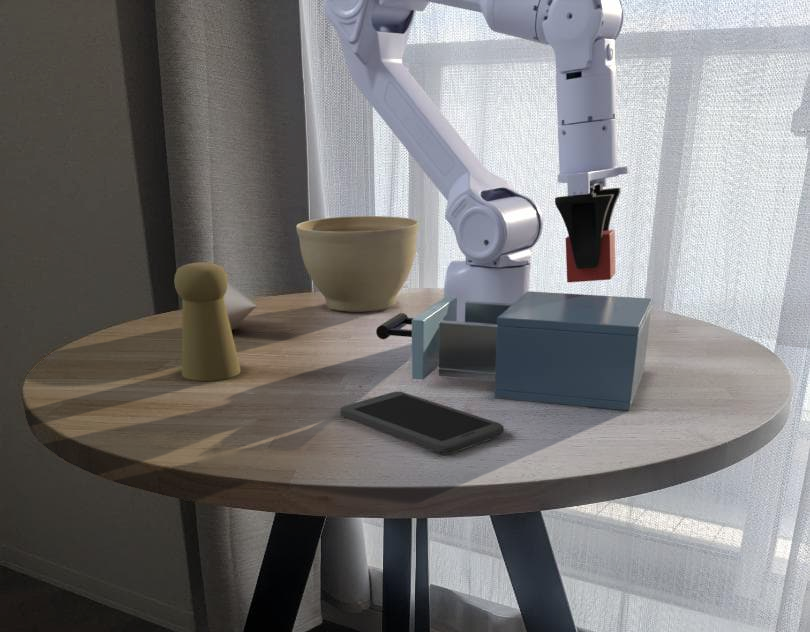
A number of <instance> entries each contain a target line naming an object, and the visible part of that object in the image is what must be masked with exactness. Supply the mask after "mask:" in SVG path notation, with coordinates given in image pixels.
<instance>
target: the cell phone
mask: <svg viewBox="0 0 810 632" xmlns="http://www.w3.org/2000/svg"><path fill="white" fill-rule="evenodd" d="M339 411H340V416H342V417H343V418H345V419H347V420H351V421H353V422H356V423H358V424H361V425H364V426H366V427H369V428H371V429H374V430H377V431H379V432H383V433H385V434H387V435H390V436H393V437H396V438H398V439H401V440H403V441H406V442H409V443H411V444H414V445H416V446H419V447H422V448H425V449H427V450H430V451H433V452H435V453H438V454H452V453H455V452H459V451H461V450H463V449H466V448H469V447H472V446H474V445H475V446H476V445H478V444H481V443H485V442H486V441H489V440H491V439H492V440H493V439H495V438H497V437H500V436H502V435H503V434H504V432H505V427H504V425H503V424H502V423H500V422H497V421H493V420H491V419H488V418H485V417H481V416H478V415H475V414H472V413H469V412H465V411H463V410H460V409H457V408H454V407H451V406H447V405H445V404H441V403H438V402H435V401H432V400H428V399H426V398H422V397H419V396H416V395H413V394H410V393H407V392H404V391H401V390H400V391H392V392H388V393H385V394H384V393H383V394H381V395H377V396H374V397H371V398H367V399H363V400H360V401H356V402H353V403H349V404H346V405H342V406H341V407H340V408H339Z"/></svg>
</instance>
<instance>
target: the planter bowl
mask: <svg viewBox="0 0 810 632" xmlns="http://www.w3.org/2000/svg"><path fill="white" fill-rule="evenodd" d="M295 226H296V227H295V228H296V233H297V236H298V241H299V248H300V249H299V250H300V254H301V257H302V260H303V264H304V266H305V269H306V271H307V274H308V275H309V277H310V279H311V281H312V282H313V284H314V285H315V287H316V288H317V289H318V291H319V293H320V294H321V295H322V296H323V297H324V300H325V305H326V307H327V308H329V309H331V310H334V311H339V312H355V313H356V312H371V311H380V310H387V309H389V308H391V307H393V306H395V305H396V303H397V297H398V293H399V292H400V291H401V290H402V288H403V287H404V285H405V284H406V281H407V279H408V278H409V275H410V273H411V270H412V268H413V265H414V261H415V257H416V251H417V244H418V243H417V242H418V231H419V226H420V225H419V221H418V220H417V219H415V218H410V217H409V218H408V217H404V216H403V217H402V216H386V215H385V216H384V215H354V216H353V215H351V216H334V217H324V218H316V219H311V220H310V219H309V220H307V221H303V222H300V223H297V224H296V225H295Z"/></svg>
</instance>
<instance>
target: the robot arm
mask: <svg viewBox="0 0 810 632" xmlns="http://www.w3.org/2000/svg"><path fill="white" fill-rule="evenodd" d="M430 3H433V4H438V5H443V6H448V7H453V8H456V9H457V8H458V9H463V10H467V11H471V12H476V13H480V14H482V16H483V18H484V20H485V22H486V24H487V26H488V28H489V29H490V30H491V31H493V32H495V33H497V34H502V35H506V36H511V37H514V38H519V39H521V40H522V39H523V40H527V41H530V42H534V43H539V44H541V45H544V46H545V45H546V46H550V47H551V48H552V50H553V52H554V57H555V59H554V61H555V89H556V90H555V91H556V111H557V112H556V113H557V139H558V140H557V141H558V144H557V145H558V169H559V170H558V171H559V173H557V183H559V184H566V185H567V187H566V188H567V195H563V196H557V197H555V198H554V204H555V207H556V209H557V211H558V212H559V214H560V216H561V218H562V221H563V223H564V225H565V228H566V232H567V234H568V236H569V239H570V243H571V248H572V253H573V257H574V261H575V264H576V267H577V269H580V268H594V267H597V266H598V262H599V257H600V251H601V242H602V233H603V231H606V230H610V224H611V221H612V216H613V212H614V209H615V206H616V204H617V201H618V200H619V197H620V194H621V187H612V188H605V187H607V185H608V183H607V179H609V178H615V177H616V178H617V177H618V176H620V175H628V174H629V173H630V166H629V165H626V166H618V164H617V162H618V160H617V158H618V157H617V104H616V103H617V95H616V94H617V91H616V90H617V87H616V85H617V84H616V82H617V81H616V49H615V48H616V45H615V43H616V40H617V39H618V37H619V36H620V33H621V31H622V28H623V24H624V7H623V3H622V1H621V0H324V5H323V7H324V8H323V15H324V17H325V19H326V20H327V21H328V22H329V23H330V25H331V26H332V27H333V28H334V30H335V32H336V34H337V37H338V40H339V43H340V46H341V51H342V53H343V55H344V58H345V62H346V65H347V69H348V71H349V75H350V77H351V80H352V81H353V83H354V85H355V86H356V87H357V89H358V90H359V91H360V93H361V94H362V95H363V96H364V98H365V99H366V100H367V101H368V102H369V104H370V105H371V106H372V107H373V109H374V110H375V111H376V113H377V114H378V115H379V116H380V118H381V119H382V120H383V122H384V123H385V124H386V125H387V126H388V128H389V129H390V131H391V132H392V133H393V134H394V135H395V136H396V138H397V139H398V140H399V142H400V143H401V144H402V146H404V148H405V149H406V151H407V152H408V153H409V154H410V156H411V157H412V158H413V160H414V161H415V162H416V163H417V164H418V166H419V167H420V168H421V170H422V171H423V172H424V173H425V175H426V176H427V177H428V178H429V180H430V181H431V182H432V183H433V185H434V186H435V187H436V188H437V190H438V191H439V193H440V194H441V195H442V196H443V197H444V199H445V200H446V202H447V203H446V208H445V212H444V218H445V220H446V221H447V223H448V224H449V225H450V226H451V228H452V230H453V232H454V236H455V239H456V244H457V246H458V248H459V250H460V251H461V253H462V254H463V256H465V259H464V260H452V261H451V262H450V263H449V264H448V266H447V268H446V273H445V276H444V283H443V284H444V285H443V299H444V298H445V297H447V296H448V297H457V321H459V322H465V302H467V301H476V302H492V303H507V304H513V303H515V302H516V301H517V300H518V299H519V298H520V297H521V296H522V295H524V294H525V293H526V292H527V291H530V282H531V268H532V267H531V266H532V263H531V262H532V248H533V247H535V246H536V244H537V243H538V242H539V240H540V239H541V236H542V234H543V229H544V218H543V215H542V211H541V209H540V207H539V206H538V204H537V203H536V201H534V200H533V199H532V198H531V197H529V196H527V195H524V194H522V193H519V192H518V191H517V190H516V189H515V188H514V187H513V186H512V185H511V184H510V182H508V180H506V179H504V178H503V177H501V176H499V175H497V174H495V173H493V172H492V171H490V170H488V169H487V168H486V167H485V166H484V164H483V163H482V162H481V160H480V159H479V158H478V157H477V155H476V154H475V153H474V151H473V150H472V149H471V148H470V146H469V145H468V144H467V143H466V142H465V140H464V139H463V138H462V137H461V135H460V134H459V133H458V131H457V130H456V129H455V128H454V126H453V125H452V123H450V122H449V120H448V118H447V117H446V116H445V115H444V114H443V112H441V110H440V109H439V107H438V106H437V105H436V104H435V102H433V100H432V98H430V96H429V95H428V94H427V92H426V91H425V90H424V89H423V87H421V85H420V84H419V82H418V81H417V80H416V78H414V77H413V75H412V73H410V71H409V70H408V69H407V67H406V66H405V65H404V64H403V56H404V54H405V50H406V49H407V44H408V40H409V37H410V34H411V30H412V27H413V23H414V21H415V17H416V14H417V12H424V11H425V10H426V8H427V7H428V5H429V4H430Z"/></svg>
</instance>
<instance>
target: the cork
mask: <svg viewBox="0 0 810 632" xmlns="http://www.w3.org/2000/svg"><path fill="white" fill-rule="evenodd" d="M173 281H174V283H173V284H174V288H175V290H176V293H177V295H178V296H179V297H180V298H181V302H182V303H181V304H182V305H181V309H182V310H181V312H182V314H181V315H182V317H181V319H182V320H181V334H182V335H181V339H182V340H181V377H183V378H184V379H187V380H189V381H190V380H191V381H195V382H210V381H211V382H213V381H215V382H216V381H222V380H227V379H230V378H234V377H236V376H238V375H239V374H241V365H240V362H239V358H238V354H237V349H236V344H235V340H234V336H233V332H232V331H233V330H231V327H230V323H229V318H228V314H227V310H226V305H225V301H224V295H225V293H226V291H227V286H228V282H229V281H228V275H227V273H226V271H225V269H224V268H223V267H222V266H221V265H219V264H218V263H217V264H216V263H212V262H200V261H199V262H198V261H197V262H192V263H187V264H183V265H181V266H180V267H178V268H177V269H176V272H175V274H174V279H173Z"/></svg>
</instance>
